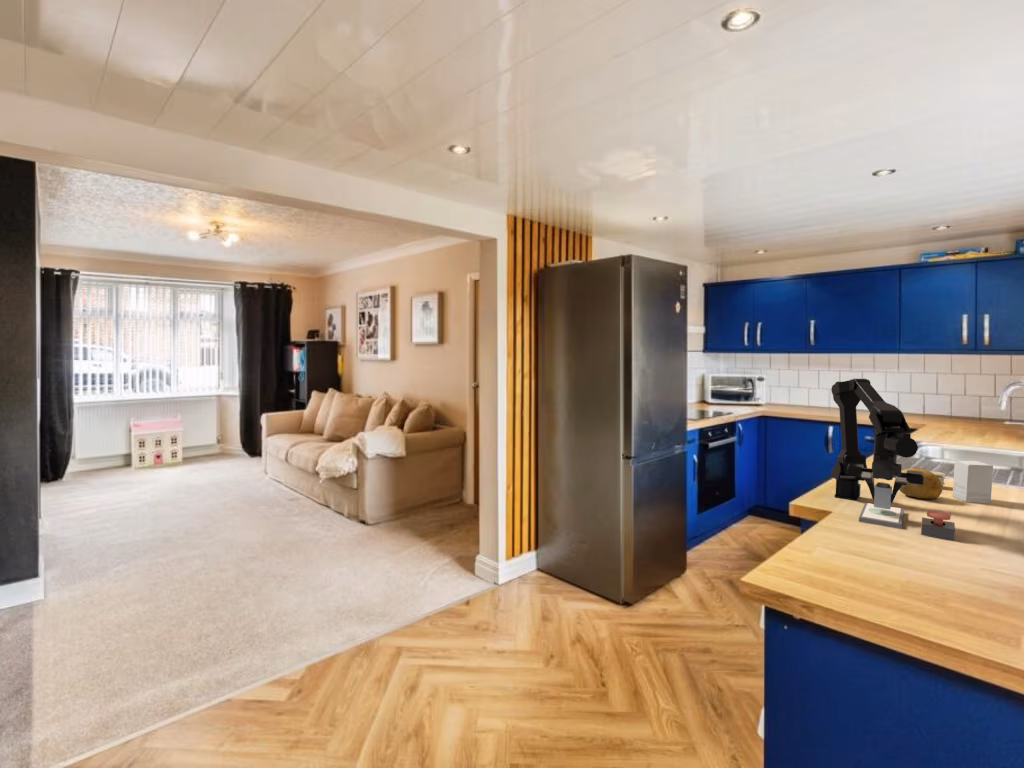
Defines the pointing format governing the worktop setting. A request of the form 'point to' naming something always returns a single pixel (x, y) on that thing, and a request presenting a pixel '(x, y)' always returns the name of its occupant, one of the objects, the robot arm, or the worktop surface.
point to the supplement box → (972, 481)
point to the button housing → (938, 529)
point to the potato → (923, 486)
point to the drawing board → (882, 516)
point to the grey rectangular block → (882, 495)
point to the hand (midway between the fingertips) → (882, 501)
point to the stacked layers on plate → (939, 477)
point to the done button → (938, 516)
